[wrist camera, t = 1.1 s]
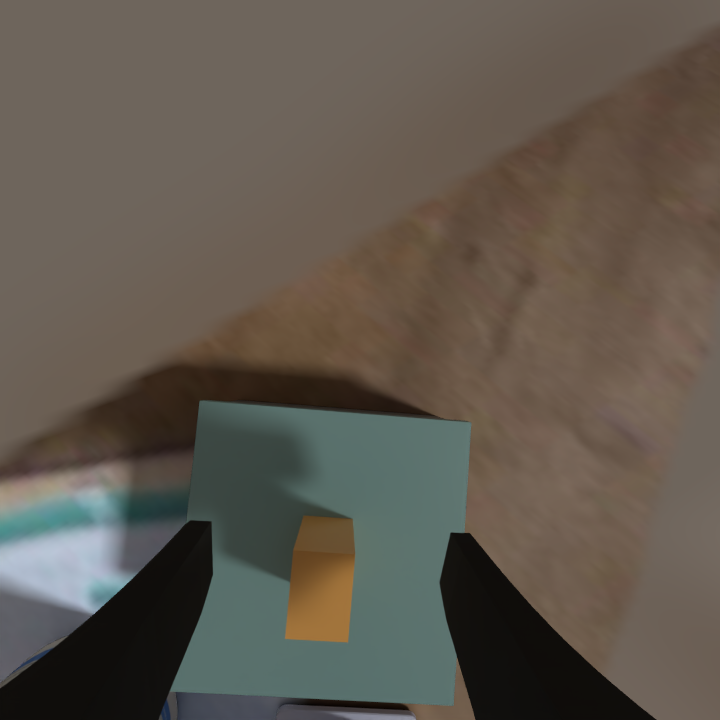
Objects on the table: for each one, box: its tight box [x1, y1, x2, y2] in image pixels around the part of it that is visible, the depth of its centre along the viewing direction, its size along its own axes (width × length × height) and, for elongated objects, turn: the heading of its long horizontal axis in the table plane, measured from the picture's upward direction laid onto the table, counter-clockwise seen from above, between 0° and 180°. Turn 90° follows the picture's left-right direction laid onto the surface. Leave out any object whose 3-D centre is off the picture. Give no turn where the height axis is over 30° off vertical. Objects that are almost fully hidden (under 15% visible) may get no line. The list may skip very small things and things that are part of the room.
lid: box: [170, 400, 471, 706], centre depth 16 cm, size 12×12×5 cm
